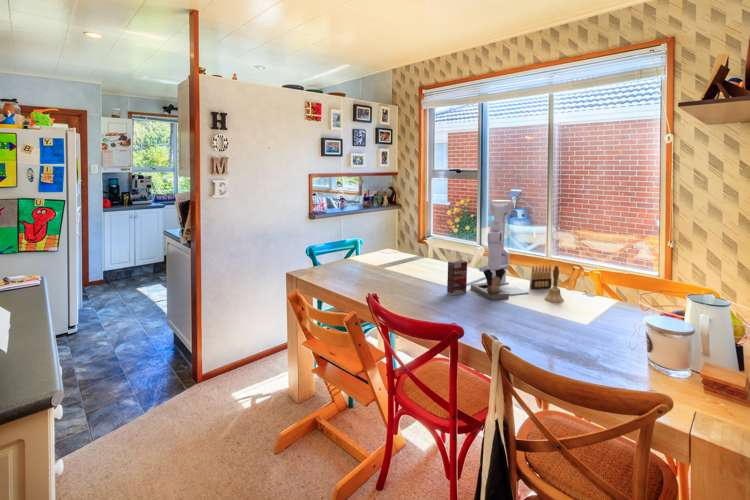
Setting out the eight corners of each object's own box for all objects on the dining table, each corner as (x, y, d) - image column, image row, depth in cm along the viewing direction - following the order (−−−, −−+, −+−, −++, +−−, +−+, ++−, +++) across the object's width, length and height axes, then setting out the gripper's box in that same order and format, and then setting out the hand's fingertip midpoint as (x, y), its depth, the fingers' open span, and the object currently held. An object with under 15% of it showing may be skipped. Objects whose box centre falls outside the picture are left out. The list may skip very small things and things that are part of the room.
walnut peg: (487, 291, 201) (487, 276, 199) (494, 290, 202) (495, 275, 200) (491, 293, 197) (492, 278, 196) (499, 292, 198) (499, 277, 197)
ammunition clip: (531, 289, 209) (532, 266, 206) (529, 288, 211) (530, 265, 208) (551, 288, 210) (552, 265, 208) (549, 287, 212) (550, 264, 210)
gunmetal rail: (470, 289, 212) (470, 284, 211) (486, 287, 214) (486, 282, 214) (491, 300, 193) (491, 295, 192) (508, 298, 195) (508, 293, 195)
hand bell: (567, 300, 191) (570, 266, 188) (555, 303, 187) (558, 269, 184) (552, 296, 198) (554, 263, 195) (540, 299, 194) (542, 265, 191)
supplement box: (453, 295, 202) (453, 263, 199) (446, 293, 206) (447, 261, 203) (467, 293, 206) (467, 261, 202) (460, 290, 210) (461, 259, 207)
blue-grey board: (499, 289, 209) (499, 288, 209) (516, 288, 212) (516, 286, 212) (510, 295, 200) (510, 294, 200) (528, 293, 202) (528, 292, 202)
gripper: (484, 259, 190) (484, 288, 193) (513, 257, 194) (511, 285, 197) (477, 256, 197) (476, 284, 200) (504, 254, 201) (503, 281, 203)
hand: (493, 284), depth 199 cm, fingers closed on walnut peg, 4 cm apart
